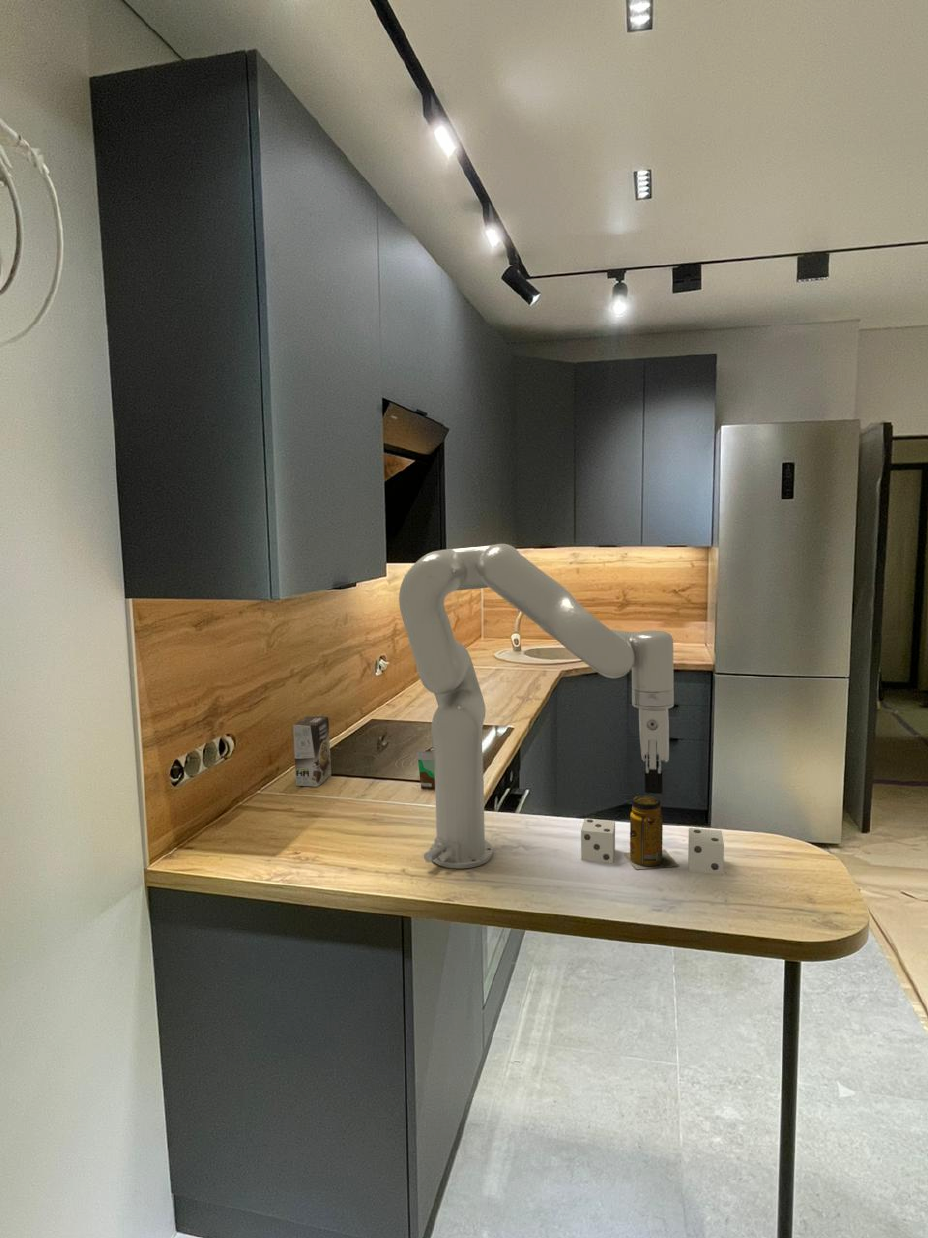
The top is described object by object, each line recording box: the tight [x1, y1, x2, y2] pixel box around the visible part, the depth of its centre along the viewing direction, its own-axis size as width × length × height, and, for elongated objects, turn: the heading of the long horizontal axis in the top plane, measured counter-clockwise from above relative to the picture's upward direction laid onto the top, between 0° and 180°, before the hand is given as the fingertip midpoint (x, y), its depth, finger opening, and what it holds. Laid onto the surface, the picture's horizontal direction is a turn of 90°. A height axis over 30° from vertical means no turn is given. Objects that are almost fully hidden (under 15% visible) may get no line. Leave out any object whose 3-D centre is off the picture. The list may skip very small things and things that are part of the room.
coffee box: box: [292, 715, 332, 788], centre depth 187 cm, size 9×6×16 cm
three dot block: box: [580, 817, 616, 864], centre depth 141 cm, size 6×6×6 cm
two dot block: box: [687, 827, 725, 876], centre depth 135 cm, size 6×6×6 cm
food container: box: [415, 746, 435, 791], centre depth 181 cm, size 12×6×10 cm, turn 143°
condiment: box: [623, 795, 680, 870], centre depth 138 cm, size 7×8×12 cm
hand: (653, 791), depth 137 cm, fingers closed
